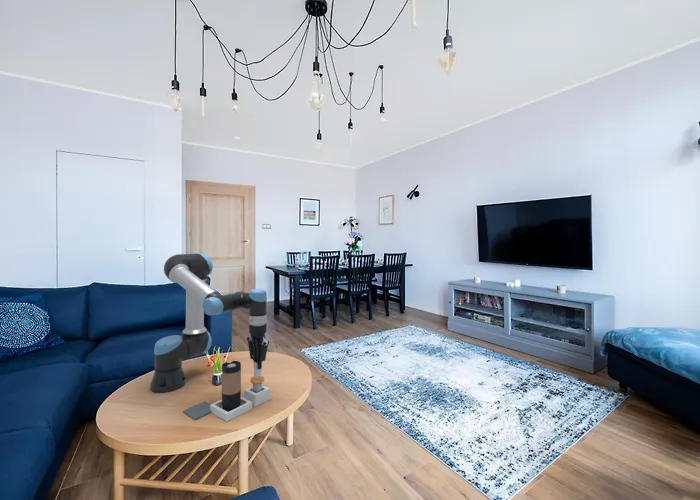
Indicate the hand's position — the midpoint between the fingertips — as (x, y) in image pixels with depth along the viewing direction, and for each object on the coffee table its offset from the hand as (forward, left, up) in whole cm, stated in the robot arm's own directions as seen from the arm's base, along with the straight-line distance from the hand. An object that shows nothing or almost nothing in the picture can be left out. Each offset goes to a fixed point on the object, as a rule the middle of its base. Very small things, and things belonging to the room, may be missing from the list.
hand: (257, 375), depth 141 cm
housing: (0, 0, -11) cm, 11 cm away
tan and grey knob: (0, 0, -9) cm, 9 cm away
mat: (-12, -20, -11) cm, 26 cm away
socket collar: (-2, -12, -11) cm, 17 cm away
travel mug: (-2, -12, -12) cm, 17 cm away
